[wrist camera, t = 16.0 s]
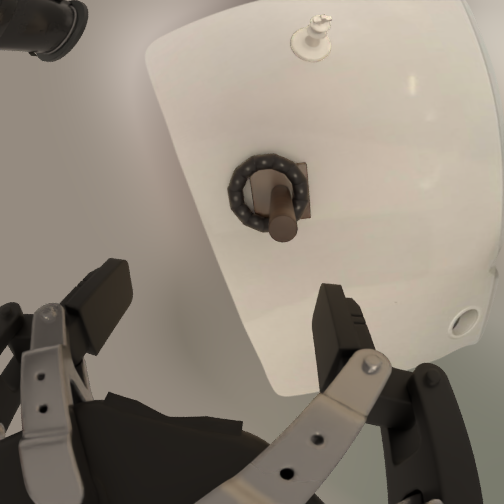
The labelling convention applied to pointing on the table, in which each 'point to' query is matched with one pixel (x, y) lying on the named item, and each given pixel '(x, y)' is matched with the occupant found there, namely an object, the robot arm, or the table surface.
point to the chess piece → (313, 40)
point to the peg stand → (277, 202)
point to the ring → (263, 164)
